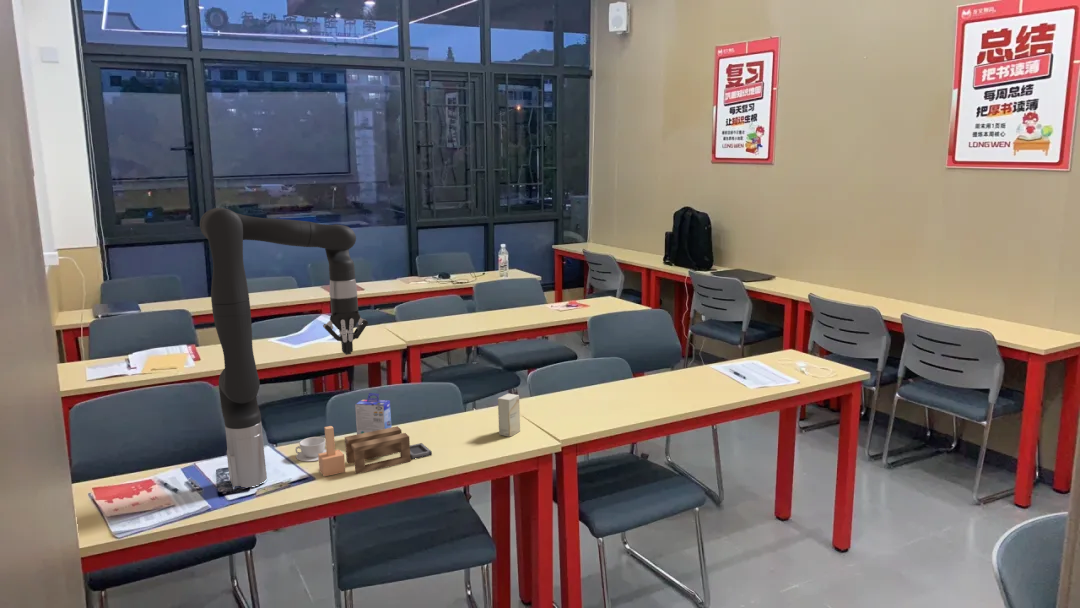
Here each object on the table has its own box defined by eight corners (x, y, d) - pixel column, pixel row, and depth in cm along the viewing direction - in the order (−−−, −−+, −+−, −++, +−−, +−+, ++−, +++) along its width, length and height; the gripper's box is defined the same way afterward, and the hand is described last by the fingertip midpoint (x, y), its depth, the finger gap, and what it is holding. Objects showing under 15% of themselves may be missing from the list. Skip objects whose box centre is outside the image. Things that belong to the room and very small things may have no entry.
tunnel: (356, 473, 216) (354, 447, 214) (346, 461, 224) (344, 437, 223) (410, 461, 223) (409, 436, 222) (398, 450, 232) (397, 426, 230)
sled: (324, 476, 213) (320, 432, 211) (319, 470, 218) (315, 426, 215) (345, 471, 216) (342, 428, 214) (340, 465, 221) (337, 422, 218)
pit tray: (412, 459, 225) (412, 455, 224) (403, 450, 232) (402, 447, 231) (431, 455, 228) (431, 451, 227) (421, 446, 234) (421, 442, 234)
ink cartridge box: (393, 436, 244) (390, 392, 241) (386, 443, 238) (383, 398, 235) (364, 434, 246) (361, 391, 243) (356, 441, 240) (353, 397, 237)
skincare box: (510, 437, 240) (508, 400, 238) (498, 435, 243) (497, 398, 240) (520, 431, 246) (519, 394, 243) (509, 428, 248) (508, 392, 246)
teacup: (326, 447, 236) (324, 433, 235) (334, 458, 228) (333, 443, 227) (292, 454, 231) (291, 439, 230) (300, 465, 223) (298, 450, 222)
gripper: (323, 299, 212) (327, 360, 215) (370, 294, 218) (373, 353, 222) (317, 295, 218) (321, 354, 222) (362, 290, 225) (366, 348, 228)
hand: (347, 353), depth 222 cm, fingers closed
